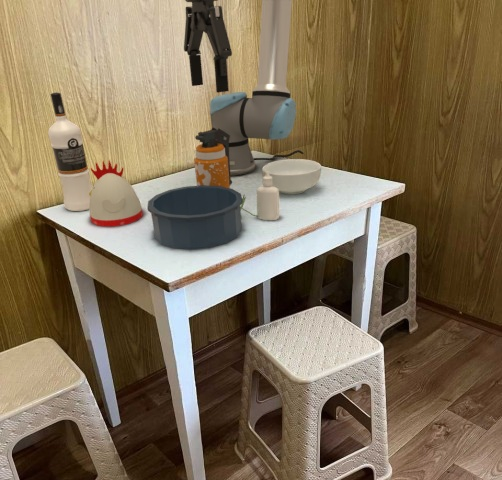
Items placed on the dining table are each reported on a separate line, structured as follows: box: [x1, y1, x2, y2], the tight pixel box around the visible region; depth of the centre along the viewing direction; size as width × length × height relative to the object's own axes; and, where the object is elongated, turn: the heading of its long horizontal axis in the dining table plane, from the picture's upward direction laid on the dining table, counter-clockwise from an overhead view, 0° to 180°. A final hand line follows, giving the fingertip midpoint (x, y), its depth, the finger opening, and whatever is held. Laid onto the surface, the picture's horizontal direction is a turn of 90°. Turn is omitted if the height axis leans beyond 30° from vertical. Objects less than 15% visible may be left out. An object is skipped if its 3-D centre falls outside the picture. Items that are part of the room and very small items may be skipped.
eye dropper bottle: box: [256, 171, 280, 221], centre depth 131 cm, size 4×6×12 cm
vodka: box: [47, 92, 93, 212], centre depth 141 cm, size 9×9×30 cm
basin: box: [147, 185, 243, 250], centre depth 127 cm, size 23×23×8 cm
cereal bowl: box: [261, 158, 322, 195], centre depth 151 cm, size 17×17×7 cm
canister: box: [193, 127, 233, 188], centre depth 140 cm, size 9×11×20 cm
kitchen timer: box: [88, 159, 144, 227], centre depth 136 cm, size 14×14×15 cm
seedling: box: [240, 194, 259, 218], centre depth 134 cm, size 7×8×7 cm
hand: (209, 88), depth 122 cm, fingers open, 13 cm apart
